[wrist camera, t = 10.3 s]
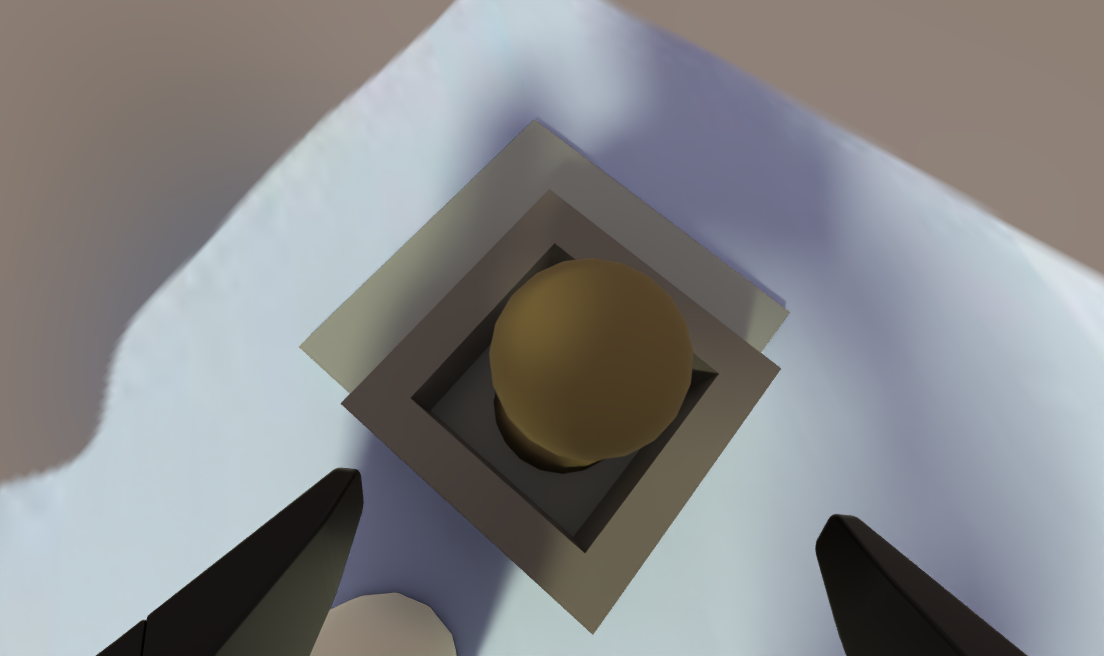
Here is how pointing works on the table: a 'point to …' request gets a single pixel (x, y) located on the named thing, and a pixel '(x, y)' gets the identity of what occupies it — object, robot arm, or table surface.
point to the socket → (466, 380)
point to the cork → (587, 364)
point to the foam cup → (383, 629)
